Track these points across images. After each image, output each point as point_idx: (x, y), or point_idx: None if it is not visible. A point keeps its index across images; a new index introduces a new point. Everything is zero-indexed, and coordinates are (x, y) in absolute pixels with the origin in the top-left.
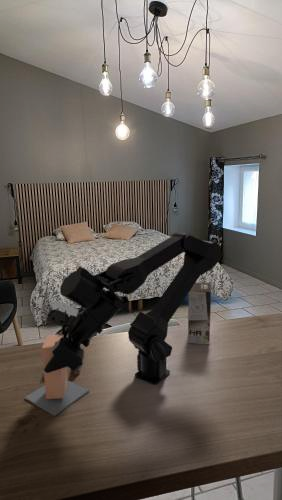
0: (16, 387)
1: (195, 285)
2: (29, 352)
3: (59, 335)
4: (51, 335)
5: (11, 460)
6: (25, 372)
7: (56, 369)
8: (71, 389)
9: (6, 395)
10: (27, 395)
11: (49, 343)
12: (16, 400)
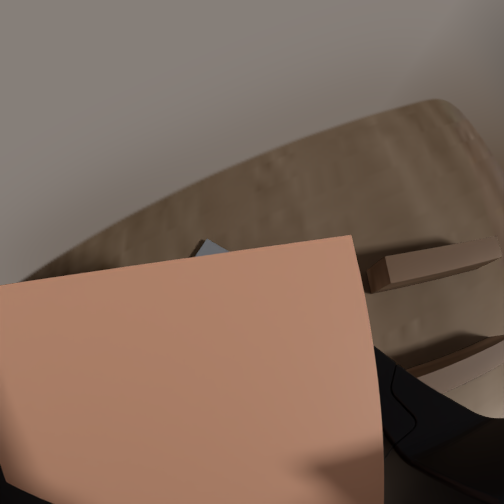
0: (275, 184)
1: None
2: (464, 157)
3: (348, 467)
4: (346, 313)
5: None
6: (368, 179)
7: None
8: None
9: (227, 173)
10: (216, 245)
11: (44, 368)
12: (199, 216)
